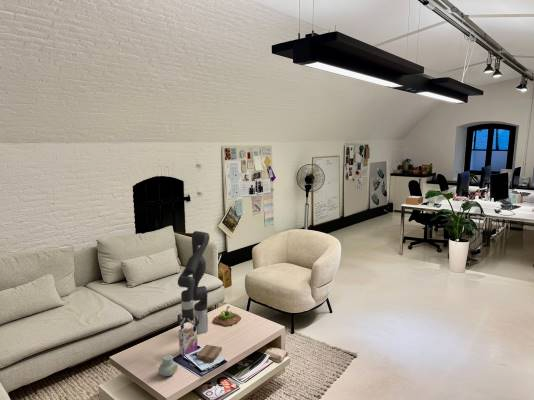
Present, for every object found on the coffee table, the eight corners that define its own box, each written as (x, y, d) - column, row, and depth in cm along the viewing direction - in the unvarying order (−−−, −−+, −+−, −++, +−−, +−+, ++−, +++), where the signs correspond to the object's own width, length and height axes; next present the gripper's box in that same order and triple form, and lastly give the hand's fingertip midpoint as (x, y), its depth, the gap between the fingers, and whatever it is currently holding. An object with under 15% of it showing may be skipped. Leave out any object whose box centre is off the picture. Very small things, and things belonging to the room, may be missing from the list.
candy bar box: (183, 356, 239) (182, 332, 237) (179, 353, 242) (178, 329, 240) (198, 349, 247) (197, 326, 244) (193, 347, 250) (193, 323, 248)
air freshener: (168, 379, 215) (167, 363, 214) (156, 376, 219) (155, 360, 217) (179, 369, 225) (179, 353, 224) (168, 366, 229) (167, 351, 227)
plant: (245, 318, 291) (245, 305, 289) (230, 329, 274) (230, 315, 273) (224, 313, 301) (224, 299, 299) (209, 323, 284) (208, 309, 283)
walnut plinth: (197, 359, 235) (196, 355, 235) (206, 348, 248) (206, 344, 247) (213, 362, 232) (212, 357, 232) (221, 351, 244) (221, 347, 244)
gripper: (174, 307, 239) (175, 332, 241) (194, 310, 235) (195, 334, 237) (180, 303, 246) (181, 326, 248) (200, 305, 242) (201, 329, 244)
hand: (188, 330), depth 242 cm, fingers open, 8 cm apart
